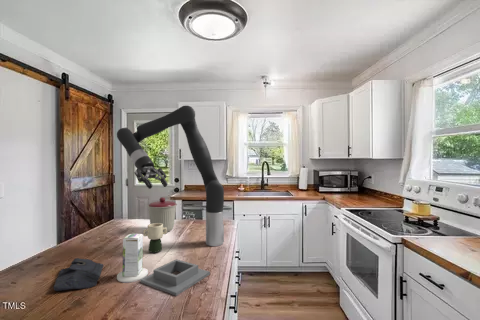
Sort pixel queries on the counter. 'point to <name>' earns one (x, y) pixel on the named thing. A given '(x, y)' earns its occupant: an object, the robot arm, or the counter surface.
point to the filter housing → (175, 277)
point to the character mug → (155, 236)
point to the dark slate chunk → (78, 275)
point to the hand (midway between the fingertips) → (158, 186)
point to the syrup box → (132, 255)
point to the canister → (162, 213)
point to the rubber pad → (132, 278)
